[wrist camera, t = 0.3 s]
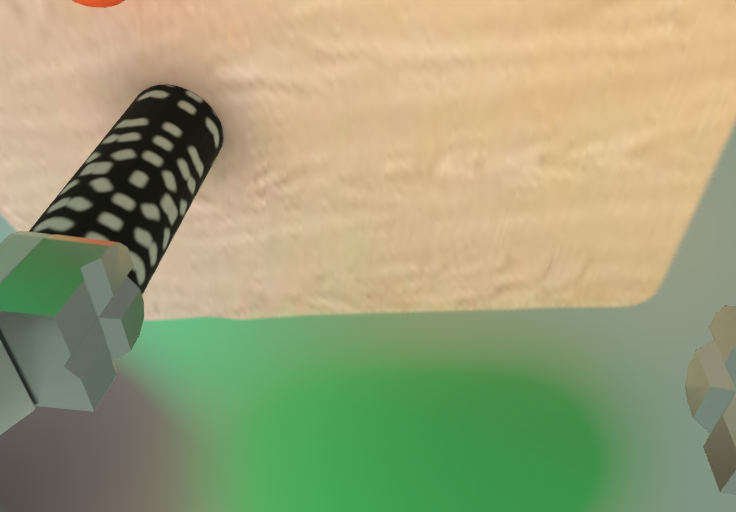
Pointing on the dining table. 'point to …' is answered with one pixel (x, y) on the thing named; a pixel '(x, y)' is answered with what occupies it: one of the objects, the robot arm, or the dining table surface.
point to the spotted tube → (140, 178)
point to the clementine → (99, 2)
